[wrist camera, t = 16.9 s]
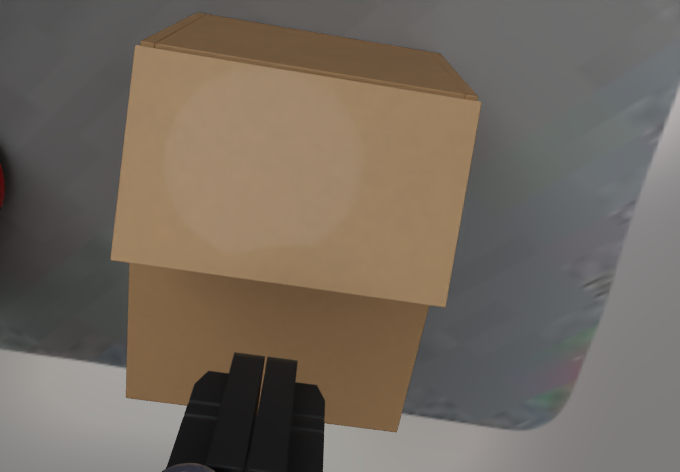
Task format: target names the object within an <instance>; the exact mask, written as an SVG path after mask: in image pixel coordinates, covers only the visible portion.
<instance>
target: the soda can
mask: <svg viewBox="0 0 680 472" xmlns="http://www.w3.org/2000/svg"><path fill="white" fill-rule="evenodd" d="M4 195H5V181H4V174H3V170H2V167H1V164H0V210H1V207H2V204H3V201H4Z"/></svg>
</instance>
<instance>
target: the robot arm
mask: <svg viewBox="0 0 680 472" xmlns="http://www.w3.org/2000/svg"><path fill="white" fill-rule="evenodd" d="M264 361H265V356H261V355H253V354H246V353H238V352H234V355H233V359H232V363H231V367H230V371H229V373H222V372H214V371H207V372H206V373H205V374H204V375H203V376H202V377H201V378H200V379H199V380H198V381H197V382H196V383H195V384H194V387H193V390H192V393H191V396H190V399H189V403H188V405H187V408H186V411H185V415H184V417H183V420H182V423H181V426H180V429H179V432H178V435H177V438H176V441H175V444H174V447H173V450H172V453H171V456H170V459H169V462H168V465H167V467H166V470H164V471H162V472H323V448H324V422H325V421H324V418H325V399H324V397H323V396H322V394H321V392H320V390H319V388H318V386H317V385H314V384H306V383H299V382H296V373H297V364H298V360H291V359H284V358H276V357H269V356H268V357H267V363H266V368H265V374H264V380H263V385H262V391H261V384H262V376H263V369H264ZM260 391H261V396H260ZM259 398H260V402H259ZM258 406H259V408H258Z"/></svg>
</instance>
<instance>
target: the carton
mask: <svg viewBox="0 0 680 472" xmlns="http://www.w3.org/2000/svg"><path fill="white" fill-rule="evenodd" d="M140 46H145V47H151V48H157V49H163V50H169V51H175V52H181V53H188V54H194V55H200V56H206V57H212V58H218V59H224V60H230V61H236V62H242V63H248V64H254V65H261V66H267V67H273V68H279V69H285V70H291V71H297V72H303V73H309V74H315V75H321V76H328V77H334V78H340V79H346V80H352V81H358V82H364V83H370V84H376V85H382V86H388V87H394V88H401V89H407V90H413V91H419V92H425V93H431V94H437V95H443V96H449V97H455V98H461V99H467V100H474V101H478V96H477V95H476V94H475V92H474V91H473V90H472V89H471V88H470V87H469V86H468V84H467V83H466V82H465V81H464V80H463V79H462V78H461V77H460V75H459V74H458V73H457V72H456V71H455V70H454V69H453V67H452V66H451V65H450V64H449V63H448V62H447V61H446V59H445V58H444V57H443V56H442V55H441V54H440V53H434V52H428V51H422V50H416V49H410V48H404V47H398V46H392V45H386V44H380V43H375V42H369V41H363V40H357V39H351V38H345V37H339V36H333V35H327V34H321V33H315V32H309V31H303V30H297V29H292V28H286V27H280V26H274V25H268V24H262V23H256V22H250V21H244V20H238V19H232V18H226V17H220V16H215V15H209V14H203V13H195V14H193V15H191V16H189V17H187V18H185V19H183V20H181V21H179V22H177V23H175V24H174V25H172V26H170V27H168V28H166V29H164V30H162V31H160V32H158V33H156V34H154V35H152V36H150V37H148V38H146V39H144V40H142V41H141V44H140ZM428 309H429V305H423V304H416V303H409V302H402V301H395V300H388V299H381V298H373V297H366V296H359V295H352V294H345V293H338V292H331V291H324V290H317V289H310V288H303V287H296V286H289V285H282V284H275V283H268V282H260V281H253V280H246V279H239V278H232V277H225V276H218V275H211V274H204V273H197V272H190V271H183V270H176V269H169V268H162V267H155V266H147V265H140V264H133V263H129V298H128V336H127V374H126V375H127V376H126V398H131V399H139V400H147V401H155V402H163V403H171V404H178V405H186V406H187V405H188V403H189V399H190V396H191V393H192V390H193V387H194V384H195V383H196V382H197V381H198V380H199V379H200V378H201V377H202V376H203V375H204V374H205V373H206V372H207V371H214V372H222V373H229V371H230V367H231V363H232V359H233V355H234V352H238V353H246V354H253V355H261V356H265V361H264V369H263V376H262V384H261V391H262V385H263V380H264V374H265V368H266V363H267V357H268V356H269V357H276V358H284V359H291V360H298V364H297V373H296V382H299V383H306V384H314V385H317V386H318V388H319V390H320V392H321V394H322V396H323V397H324V399H325V418H324V421H325V422H324V423H327V424H335V425H344V426H351V427H359V428H366V429H374V430H382V431H390V432H397V430H398V426H399V421H400V418H401V414H402V410H403V406H404V402H405V398H406V395H407V391H408V387H409V383H410V379H411V375H412V371H413V367H414V363H415V359H416V356H417V352H418V348H419V344H420V340H421V336H422V332H423V328H424V324H425V321H426V317H427V313H428ZM261 391H260V396H261ZM259 402H260V398H259ZM258 408H259V406H258Z"/></svg>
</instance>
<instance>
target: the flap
mask: <svg viewBox="0 0 680 472" xmlns="http://www.w3.org/2000/svg"><path fill="white" fill-rule="evenodd" d="M481 104H482V103H481V102H480V101H474V100H467V99H461V98H455V97H449V96H443V95H437V94H431V93H425V92H419V91H413V90H407V89H401V88H394V87H388V86H382V85H376V84H370V83H364V82H358V81H352V80H346V79H340V78H334V77H328V76H321V75H315V74H309V73H303V72H297V71H291V70H285V69H279V68H273V67H267V66H261V65H254V64H248V63H242V62H236V61H230V60H224V59H218V58H212V57H206V56H200V55H194V54H188V53H181V52H175V51H169V50H163V49H157V48H151V47H145V46H139V45H135V50H134V59H133V68H132V76H131V85H130V94H129V102H128V111H127V120H126V129H125V137H124V146H123V155H122V163H121V172H120V181H119V189H118V198H117V207H116V216H115V224H114V233H113V242H112V250H111V260H112V261H119V262H126V263H133V264H140V265H147V266H155V267H162V268H169V269H176V270H183V271H190V272H197V273H204V274H211V275H218V276H225V277H232V278H239V279H246V280H253V281H260V282H268V283H275V284H282V285H289V286H296V287H303V288H310V289H317V290H324V291H331V292H338V293H345V294H352V295H359V296H366V297H373V298H381V299H388V300H395V301H402V302H409V303H416V304H423V305H430V306H437V307H446V302H447V296H448V291H449V285H450V279H451V274H452V268H453V262H454V257H455V251H456V245H457V240H458V234H459V228H460V223H461V217H462V211H463V206H464V200H465V194H466V189H467V183H468V177H469V172H470V166H471V160H472V155H473V149H474V143H475V138H476V132H477V126H478V121H479V115H480V109H481Z"/></svg>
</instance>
